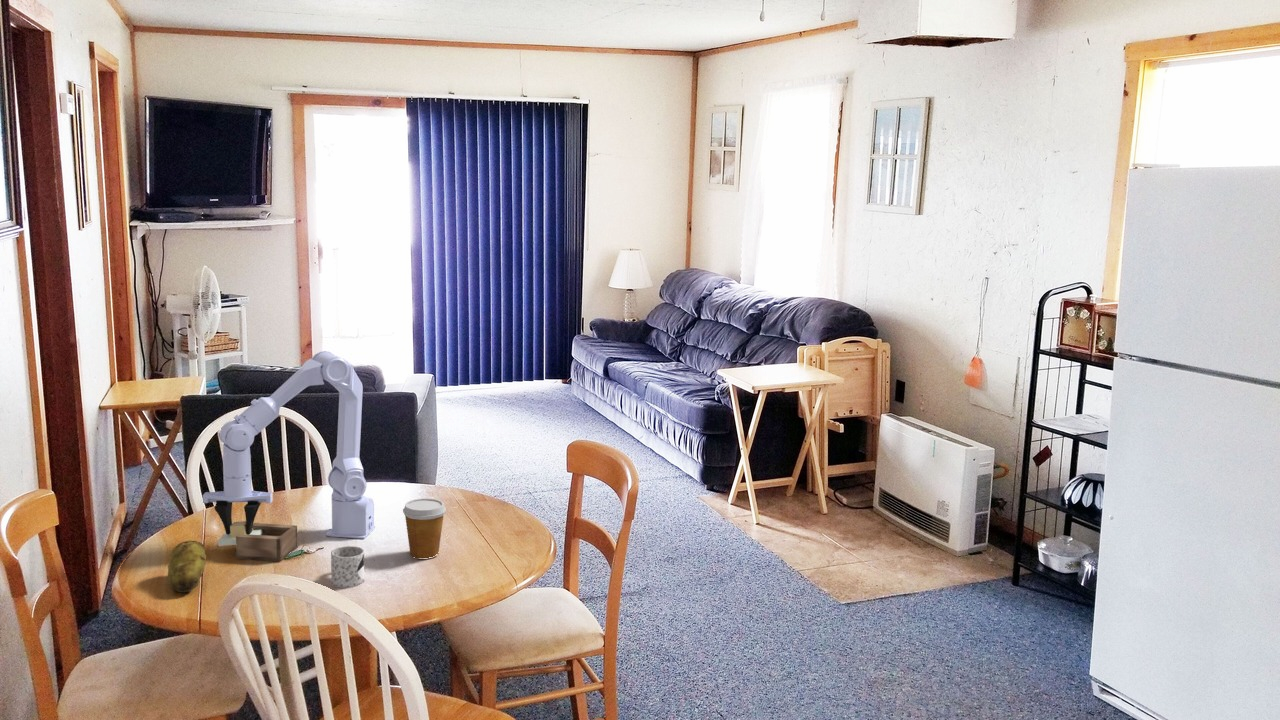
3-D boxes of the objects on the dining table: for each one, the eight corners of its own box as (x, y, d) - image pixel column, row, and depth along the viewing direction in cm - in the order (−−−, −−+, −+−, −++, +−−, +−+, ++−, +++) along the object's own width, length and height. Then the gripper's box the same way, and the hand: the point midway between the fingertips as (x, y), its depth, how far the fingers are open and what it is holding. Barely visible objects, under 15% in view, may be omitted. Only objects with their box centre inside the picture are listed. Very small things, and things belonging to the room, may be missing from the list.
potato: (152, 596, 192) (150, 558, 191) (179, 571, 205) (177, 535, 203) (194, 597, 193) (193, 559, 191) (219, 572, 205) (217, 536, 204)
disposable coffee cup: (430, 544, 226) (431, 495, 224) (453, 555, 220) (454, 505, 218) (394, 553, 220) (394, 503, 218) (417, 565, 213) (417, 513, 211)
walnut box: (297, 547, 221) (297, 525, 220) (280, 561, 212) (280, 539, 211) (255, 544, 222) (254, 522, 221) (236, 558, 213) (235, 536, 212)
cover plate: (262, 534, 219) (260, 518, 219) (255, 542, 214) (253, 526, 213) (226, 536, 219) (224, 520, 218) (218, 546, 213) (216, 529, 212)
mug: (365, 586, 201) (365, 556, 200) (332, 589, 199) (331, 559, 198) (361, 568, 210) (361, 539, 209) (329, 571, 208) (329, 542, 207)
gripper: (275, 469, 219) (277, 526, 221) (209, 469, 217) (211, 526, 220) (267, 478, 212) (268, 537, 214) (198, 478, 210) (200, 537, 213)
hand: (239, 533), depth 216 cm, fingers open, 4 cm apart
